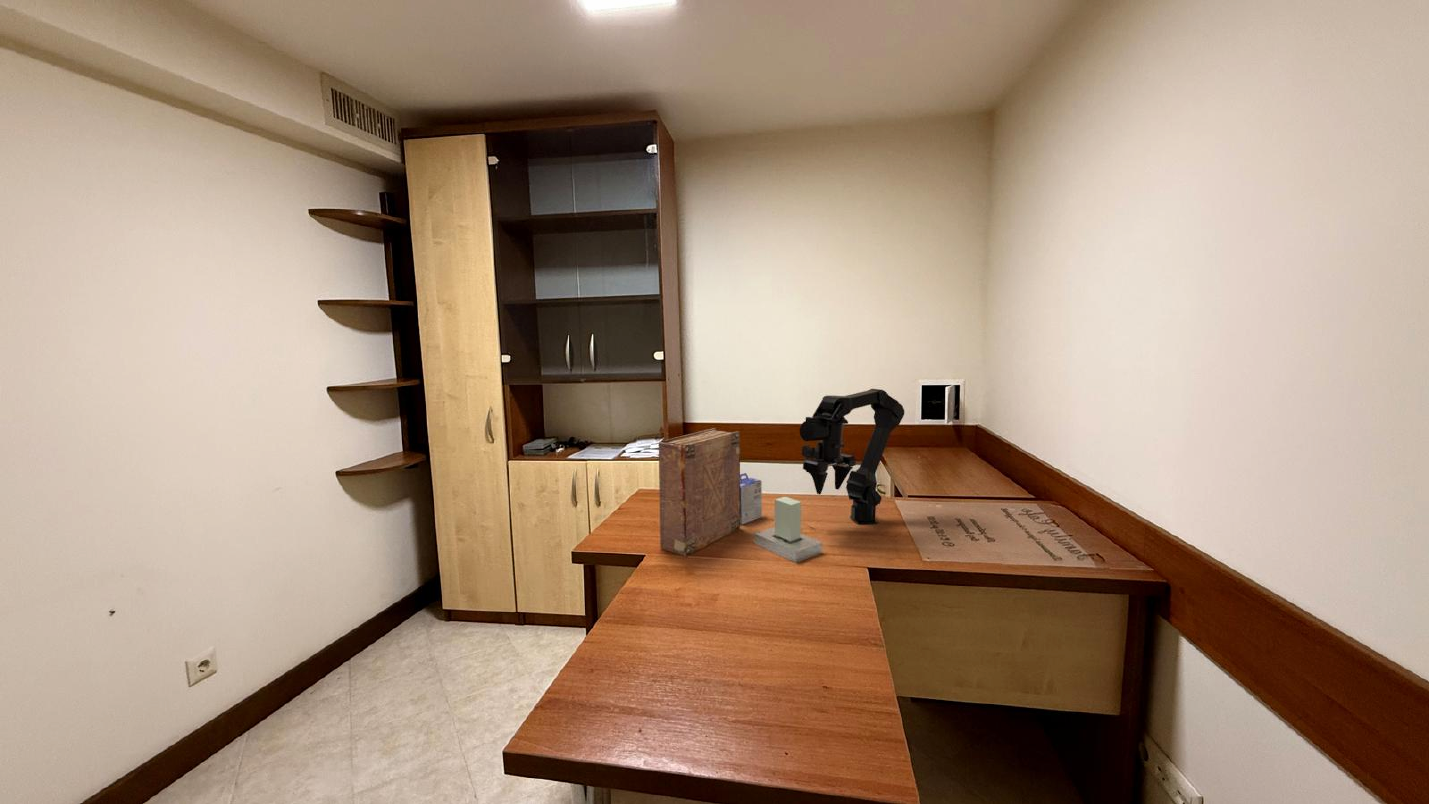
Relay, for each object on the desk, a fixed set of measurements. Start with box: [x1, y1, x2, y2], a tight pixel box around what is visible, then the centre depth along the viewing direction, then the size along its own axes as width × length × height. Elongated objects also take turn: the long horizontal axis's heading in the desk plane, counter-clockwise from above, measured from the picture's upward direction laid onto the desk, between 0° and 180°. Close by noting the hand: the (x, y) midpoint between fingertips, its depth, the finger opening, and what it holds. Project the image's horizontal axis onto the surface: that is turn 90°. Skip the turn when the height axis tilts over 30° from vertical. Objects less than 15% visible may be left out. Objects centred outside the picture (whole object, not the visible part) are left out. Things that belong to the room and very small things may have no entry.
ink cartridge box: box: [740, 472, 763, 526], centre depth 167 cm, size 10×6×14 cm, turn 134°
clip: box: [774, 496, 802, 544], centre depth 144 cm, size 4×6×14 cm, turn 38°
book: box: [658, 427, 741, 558], centre depth 150 cm, size 25×9×30 cm, turn 143°
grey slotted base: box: [753, 526, 823, 564], centre depth 145 cm, size 10×16×3 cm, turn 38°
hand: (828, 491), depth 156 cm, fingers open, 9 cm apart
